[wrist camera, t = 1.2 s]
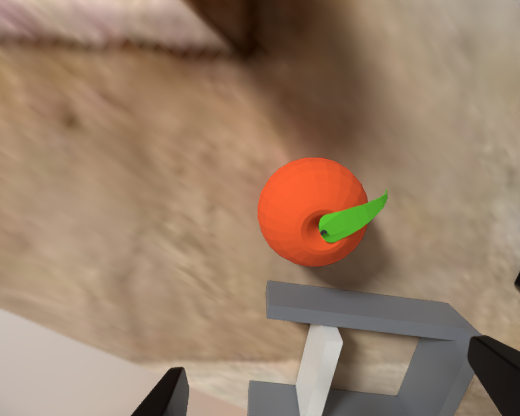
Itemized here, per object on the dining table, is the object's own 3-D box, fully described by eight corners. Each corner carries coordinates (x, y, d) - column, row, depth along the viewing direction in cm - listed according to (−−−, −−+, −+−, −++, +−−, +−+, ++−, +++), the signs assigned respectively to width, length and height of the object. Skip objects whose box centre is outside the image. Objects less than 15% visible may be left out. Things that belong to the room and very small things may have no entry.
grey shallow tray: (447, 303, 23) (489, 342, 19) (404, 406, 27) (432, 458, 22) (267, 280, 22) (269, 316, 18) (248, 389, 26) (246, 440, 22)
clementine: (345, 131, 19) (394, 132, 12) (371, 215, 21) (426, 258, 14) (243, 173, 20) (235, 198, 13) (277, 251, 22) (285, 308, 15)
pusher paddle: (328, 306, 23) (343, 342, 19) (307, 386, 25) (316, 432, 22) (315, 304, 23) (326, 340, 19) (295, 385, 25) (302, 430, 22)
